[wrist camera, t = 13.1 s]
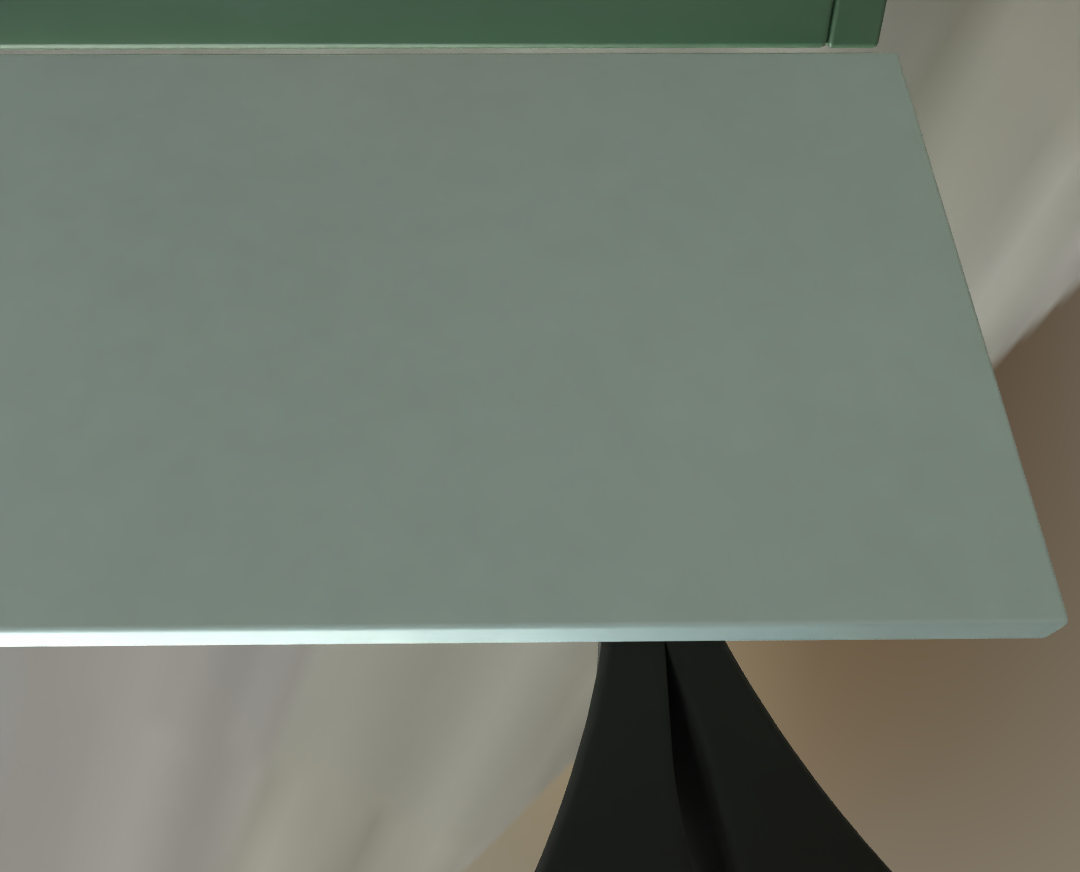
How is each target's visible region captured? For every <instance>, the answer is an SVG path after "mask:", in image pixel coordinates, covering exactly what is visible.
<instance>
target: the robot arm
mask: <svg viewBox="0 0 1080 872" xmlns="http://www.w3.org/2000/svg"><path fill="white" fill-rule="evenodd" d="M535 872H892V871H891V870H890V869H889V868H888V867H887V866H886V865H885V864H884V862H883V861H882V860H881V859H880V858H879V857H878V856H877V854H876V853H875V852H874V851H873V850H872V849H871V848H870V847H869V846H868V844H867V843H866V842H865V841H864V840H863V839H862V837H861V836H860V835H859V834H858V832H857V831H856V830H855V829H854V828H853V827H852V825H851V824H850V823H849V822H848V821H847V819H846V818H845V817H844V816H843V815H842V813H841V812H840V811H839V810H838V809H837V807H836V806H835V805H834V803H833V802H832V801H831V800H830V798H829V797H828V796H827V794H826V793H825V792H824V791H823V789H822V788H821V787H820V785H819V784H818V783H817V781H816V780H815V779H814V777H813V776H812V775H811V773H810V772H809V771H808V769H807V768H806V766H805V765H804V764H803V762H802V761H801V760H800V758H799V757H798V755H797V754H796V753H795V752H794V750H793V749H792V747H791V746H790V744H789V743H788V741H787V740H786V738H785V737H784V736H783V734H782V733H781V731H780V730H779V728H778V727H777V725H776V724H775V722H774V721H773V719H772V718H771V716H770V714H769V713H768V711H767V710H766V708H765V707H764V705H763V704H762V702H761V700H760V699H759V697H758V696H757V694H756V693H755V691H754V690H753V688H752V686H751V685H750V683H749V681H748V680H747V678H746V677H745V675H744V673H743V672H742V670H741V668H740V666H739V665H738V663H737V661H736V659H735V658H734V656H733V654H732V652H731V651H730V649H729V647H728V645H727V644H726V642H725V641H621V642H599V644H598V663H597V676H596V680H595V685H594V689H593V694H592V699H591V703H590V708H589V712H588V717H587V721H586V725H585V729H584V732H583V736H582V739H581V742H580V746H579V749H578V753H577V756H576V759H575V763H574V766H573V770H572V773H571V776H570V779H569V782H568V786H567V788H566V791H565V795H564V797H563V800H562V804H561V806H560V809H559V811H558V814H557V817H556V820H555V822H554V825H553V828H552V830H551V833H550V835H549V838H548V841H547V843H546V846H545V848H544V851H543V853H542V856H541V858H540V860H539V863H538V865H537V867H536V870H535Z"/></svg>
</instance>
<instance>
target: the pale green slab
mask: <svg viewBox="0 0 1080 872" xmlns="http://www.w3.org/2000/svg"><path fill="white" fill-rule="evenodd" d="M1067 623H1068V616H1067V613H1066V610H1065V607H1064V603H1063V600H1062V597H1061V594H1060V590H1059V587H1058V583H1057V580H1056V577H1055V573H1054V570H1053V567H1052V564H1051V560H1050V557H1049V554H1048V550H1047V547H1046V544H1045V541H1044V537H1043V534H1042V530H1041V527H1040V524H1039V521H1038V517H1037V514H1036V511H1035V507H1034V505H1033V501H1032V497H1031V494H1030V491H1029V488H1028V484H1027V481H1026V478H1025V474H1024V471H1023V468H1022V464H1021V462H1020V458H1019V454H1018V451H1017V448H1016V445H1015V441H1014V438H1013V435H1012V431H1011V428H1010V425H1009V421H1008V418H1007V415H1006V411H1005V408H1004V405H1003V402H1002V398H1001V395H1000V392H999V388H998V385H997V382H996V378H995V375H994V372H993V368H992V365H991V362H990V358H989V355H988V352H987V349H986V345H985V342H984V339H983V335H982V332H981V329H980V325H979V322H978V319H977V315H976V312H975V309H974V306H973V302H972V299H971V296H970V292H969V289H968V286H967V282H966V279H965V276H964V272H963V269H962V266H961V263H960V259H959V256H958V253H957V249H956V246H955V243H954V239H953V236H952V233H951V229H950V226H949V223H948V220H947V216H946V213H945V210H944V206H943V203H942V200H941V196H940V193H939V190H938V186H937V183H936V180H935V177H934V173H933V170H932V167H931V163H930V160H929V157H928V153H927V150H926V147H925V144H924V140H923V137H922V134H921V130H920V127H919V124H918V120H917V117H916V114H915V110H914V107H913V104H912V101H911V97H910V94H909V91H908V87H907V84H906V81H905V77H904V74H903V71H902V67H901V64H900V61H899V58H898V55H897V54H895V53H626V54H113V55H0V647H16V646H137V645H258V644H379V643H500V642H621V641H730V640H731V641H732V640H733V641H736V640H737V641H741V640H858V639H860V640H861V639H862V640H863V639H972V638H973V639H976V638H977V639H978V638H979V639H981V638H1045V637H1047V636H1048V635H1050V634H1052V633H1053V632H1055V631H1057V630H1058V629H1060V628H1061V627H1063V626H1065V625H1066V624H1067Z"/></svg>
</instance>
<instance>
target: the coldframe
mask: <svg viewBox="0 0 1080 872" xmlns="http://www.w3.org/2000/svg"><path fill="white" fill-rule="evenodd" d="M886 2H887V0H0V49H341V48H820V47H822V46H825V44H826V45H827V46H829V47H831V48H873V47H875V46H877V44H878V41H879V36H880V31H881V27H882V22H883V17H884V12H885V7H886Z"/></svg>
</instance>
